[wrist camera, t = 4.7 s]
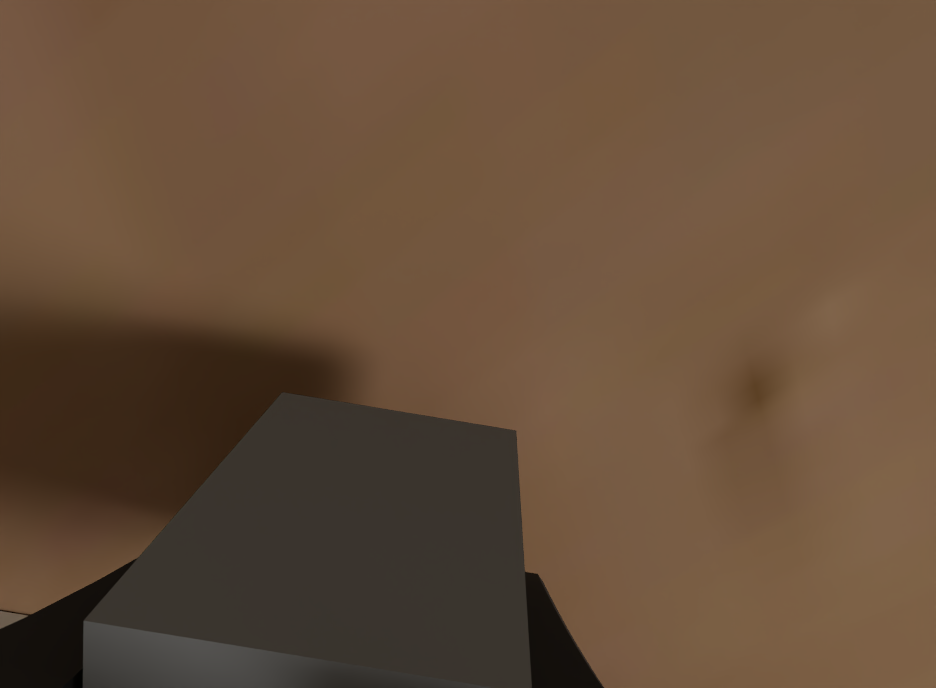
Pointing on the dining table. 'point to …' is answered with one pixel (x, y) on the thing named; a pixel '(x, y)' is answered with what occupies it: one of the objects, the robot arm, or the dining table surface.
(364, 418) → the gray rectangular block
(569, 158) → the dining table surface
